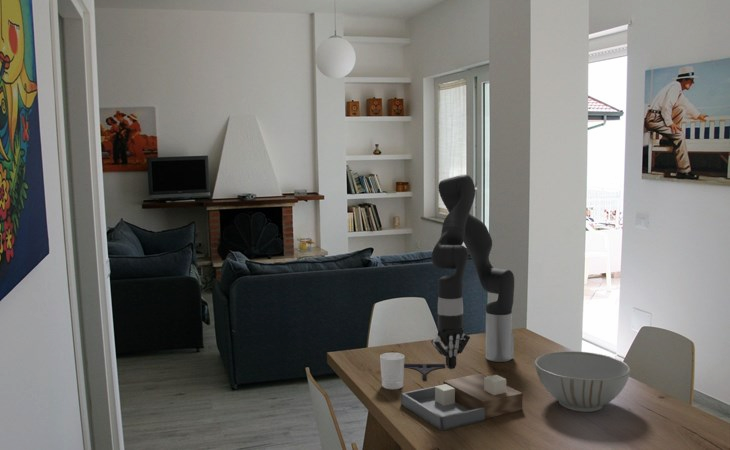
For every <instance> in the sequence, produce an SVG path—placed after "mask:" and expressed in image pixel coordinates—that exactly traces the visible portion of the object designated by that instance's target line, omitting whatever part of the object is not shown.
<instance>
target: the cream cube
mask: <svg viewBox="0 0 730 450" xmlns="http://www.w3.org/2000/svg"><path fill="white" fill-rule="evenodd" d="M435 401H436V402H438V403H440V404H442V405H443V406H445V405H449V404H453V403H455V388H453V387H451V386H449V385H447V384H444V383H443V384H440V385H435Z"/></svg>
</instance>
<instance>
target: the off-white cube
mask: <svg viewBox="0 0 730 450" xmlns="http://www.w3.org/2000/svg"><path fill="white" fill-rule="evenodd" d="M506 386H507V379H506V378H505V377H503V376H500V375H498V374H492V375H487V377H484V391H486V392H488V393H490V394H492V395H497V394H501V393H506Z"/></svg>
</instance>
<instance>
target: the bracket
mask: <svg viewBox="0 0 730 450" xmlns="http://www.w3.org/2000/svg"><path fill="white" fill-rule="evenodd" d="M405 368H406V369H411V370H414V371H418V372H419V373H421V375H422V381H428V378H427V377H428V375H427V374H428V373H430V372H432V371H434V370H439V369H440V370H441V369H444V368H445V369H446V363H404V369H405Z"/></svg>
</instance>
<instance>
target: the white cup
mask: <svg viewBox="0 0 730 450" xmlns="http://www.w3.org/2000/svg"><path fill="white" fill-rule="evenodd" d="M379 359H380V377H381V386H382V388H384V389H386V390H399V389H402V388H403V387H404V375H405V367H404V364H405V355H404V354H402V353H401V352H386V353H382V354H380V355H379Z"/></svg>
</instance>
